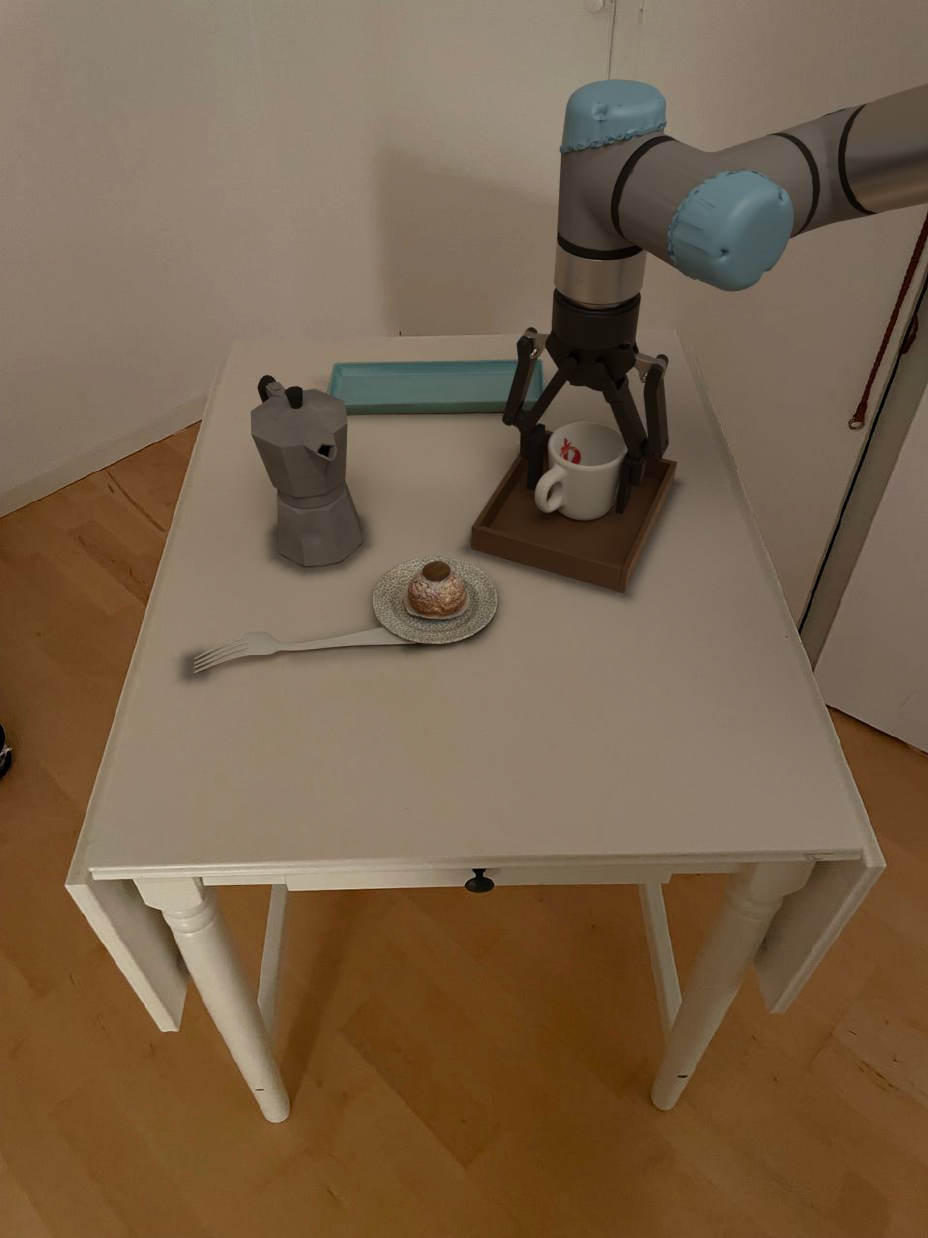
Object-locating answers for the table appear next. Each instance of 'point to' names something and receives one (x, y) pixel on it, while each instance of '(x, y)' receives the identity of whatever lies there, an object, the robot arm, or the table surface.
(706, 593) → the table surface
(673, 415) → the table surface
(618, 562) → the tray
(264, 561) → the table surface
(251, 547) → the table surface
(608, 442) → the cup
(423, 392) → the shallow long dish
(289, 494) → the coffeepot
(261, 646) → the fork
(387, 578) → the pastry
